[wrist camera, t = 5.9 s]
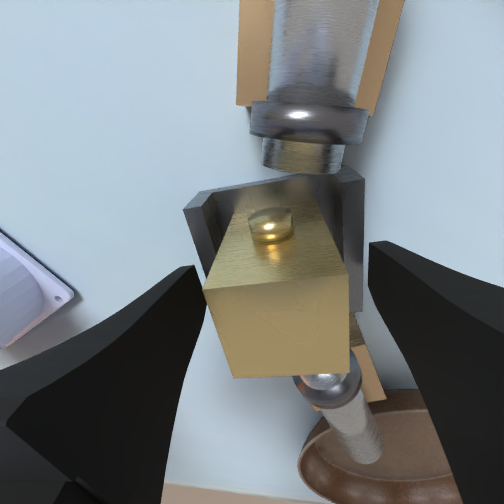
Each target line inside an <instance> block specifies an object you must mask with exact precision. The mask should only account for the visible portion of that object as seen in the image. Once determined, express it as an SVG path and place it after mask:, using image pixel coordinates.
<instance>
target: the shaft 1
mask: <svg viewBox="0 0 504 504" xmlns="http://www.w3.org/2000/svg"><path fill="white" fill-rule="evenodd" d="M403 4H404V0H240V4H239V35H238V65H237V96H236V105H239V106H245V107H251V119H250V134H252V135H255V136H259V137H263V144H262V156H261V164H262V165H264V166H266V167H269V168H272V169H276V170H280V171H285V172H292V173H300V174H314V175H325V174H334V173H338V172H339V171H340V167H341V163H342V158H343V154H344V150H345V146H346V145H358V144H361V143H362V139H363V135H364V131H365V128H366V124H367V120H368V116H373V115H374V111H375V108H376V104H377V100H378V96H379V93H380V89H381V85H382V82H383V78H384V74H385V71H386V67H387V63H388V59H389V56H390V52H391V48H392V45H393V41H394V37H395V34H396V30H397V26H398V22H399V19H400V15H401V11H402V8H403Z"/></svg>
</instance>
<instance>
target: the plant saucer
mask: <svg viewBox="0 0 504 504" xmlns="http://www.w3.org/2000/svg"><path fill="white" fill-rule="evenodd" d="M384 393H385V396H386V399H384V400H379V401H373V402H367V403H368V406H369V408H370V410H371V412H372V415H373V417H374V419H375V421H376V423H377V426H378V428H379V430H380V432H381V435H382V437H383V442H384V448H383V452H382V455H381V456H380V458H379V459H378V460H377V461H375V462H374V463H371V464H361V463H358V462H356V461H354V460H353V459H351V458H350V457H349V456H348V454H347V453H346V452H345V450H344V448H343V447H342V445H341V443H340V442H339V440H338V438H337V437H336V435H335V433H334V432H333V430H332V428H331V427H330V425H329V423H328V422H327V420H326V418H325V417H323V418H322V419H321V420H320V421H319V423H318V424H317V425H316V426H315V428H314V429H313V431H312V432H311V434H310V435H309V437H308V438H307V440H306V442H305V444H304V446H303V448H302V450H301V453H300V456H299V459H298V465H297V466H298V472H299V475H300V477H301V479H302V480H303V482H304V483H305V484H306V485H307V486H308V487H309V488H310V489H311V490H312V491H313V492H315V493H316V494H318V495H319V496H321V497H322V498H325V499H326V500H328V501H331V502H332V503H335V504H463V502H462V499H461V496H460V493H459V491H458V488H457V485H456V482H455V479H454V477H453V474H452V471H451V468H450V466H449V463H448V461H447V458H446V455H445V453H444V450H443V448H442V445H441V443H440V440H439V437H438V435H437V432H436V430H435V427H434V425H433V422H432V420H431V417H430V415H429V412H428V410H427V408H426V405H425V403H424V400H423V398H422V395H421V393H420V391H419V389H400V390H389V391H384Z"/></svg>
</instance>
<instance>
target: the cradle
mask: <svg viewBox="0 0 504 504" xmlns="http://www.w3.org/2000/svg"><path fill="white" fill-rule="evenodd" d="M364 192H365V179H364V178H363V177H362V176H360V175H359V174H358V173H356V172H355V171H353V170H352V169H351V168H349V167H348V166H342V167H340V171H339V172H338V173H334V174H325V175H314V174H297V175H292V176H286V177H280V178H275V179H269V180H263V181H258V182H252V183H246V184H241V185H235V186H230V187H224V188H218V189H213V190H207V191H201V192H199V193H198V194H197V195H196V196H195V197H194V198H193V199H192V200H191V201H190V202H189V203H188V204H187V206H186V207H185V208H184V209H183V211H184V214H185V217H186V220H187V223H188V226H189V229H190V232H191V235H192V238H193V241H194V244H195V247H196V250H197V253H198V256H199V259H200V261H201V264H202V267H203V270H204V273H205V276H206V279H207V277H208V274H209V272H210V270H211V267H212V265H213V262H214V260H215V258H216V255H217V253H218V250H219V248H220V245H221V243H222V241H223V238H224V236H225V233H226V231H227V229H228V226H229V224H230V221H231V219H232V216H233V215H234V214H240V213H247V212H253V211H259V210H262V209H266V208H272V207H285V206H292V205H298V204H305V203H311V202H316V203H317V205H318V207H319V209H320V212H321V214H322V216H323V218H324V221H325V223H326V225H327V227H328V229H329V232H330V234H331V236H332V238H333V241H334V243H335V245H336V247H337V249H338V252H339V254H340V256H341V258H342V260H343V263H344V265H345V267H346V269H347V272H348V274H349V313H350V312H362V302H363V247H364Z"/></svg>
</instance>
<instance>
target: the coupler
mask: <svg viewBox="0 0 504 504" xmlns="http://www.w3.org/2000/svg"><path fill="white" fill-rule="evenodd" d="M202 291H203V293H204V296H205V299H206V302H207V305H208V307H209V310H210V313H211V316H212V319H213V322H214V324H215V327H216V330H217V333H218V336H219V339H220V341H221V344H222V347H223V350H224V353H225V356H226V358H227V361H228V364H229V367H230V370H231V373H232V375H233V378H250V377H272V376H294V375H316V374H338V373H350V358H349V274H348V272H347V269H346V267H345V265H344V263H343V260H342V258H341V256H340V254H339V252H338V249H337V247H336V245H335V243H334V241H333V238H332V236H331V234H330V232H329V229H328V227H327V225H326V223H325V221H324V218H323V216H322V214H321V212H320V209H319V207H318V205H317V203H316V202H311V203H305V204H298V205H292V206H285V207H272V208H266V209H262V210H259V211H253V212H247V213H240V214H234V215H233V216H232V219H231V221H230V224H229V226H228V229H227V231H226V233H225V236H224V238H223V241H222V243H221V245H220V248H219V250H218V253H217V255H216V258H215V260H214V262H213V265H212V267H211V270H210V272H209V274H208V277H207V279H206V282H205V284H204V286H203V289H202Z"/></svg>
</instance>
